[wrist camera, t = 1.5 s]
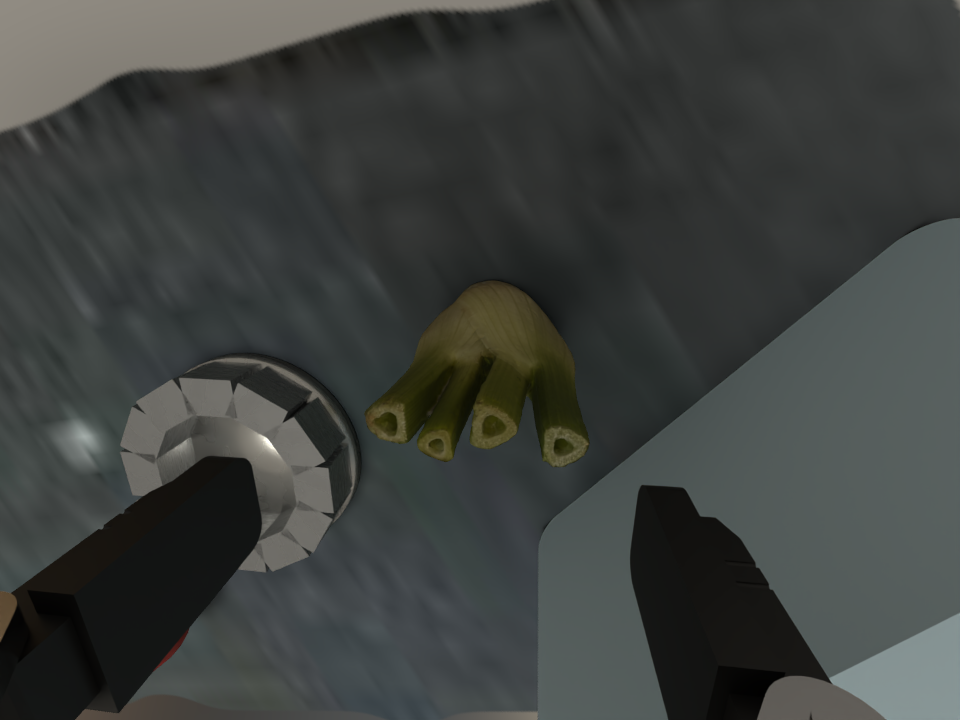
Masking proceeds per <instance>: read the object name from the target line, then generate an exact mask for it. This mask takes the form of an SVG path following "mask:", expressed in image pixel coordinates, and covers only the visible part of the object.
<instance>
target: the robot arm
mask: <svg viewBox="0 0 960 720" xmlns="http://www.w3.org/2000/svg"><path fill="white" fill-rule="evenodd" d="M261 529H262V516H261V511H260V506H259V501H258V495H257V490H256V485H255V479H254V474H253V469H252V466H251V463H250V462H249V461H248V460H247V459H245V458H239V457H223V456H206V457H204V458H202V459H201V460H200V461H198V462H197V463H196V464H194V465H193V466H192V467H190V468H189V469H188V470H186V471H185V472H184V473H182V474H181V475H180V476H178V477H177V478H176V479H174V480H173V481H171V482H169V483H167V484H165V485H163V486H161V487H159V488H157V489H155V490H152V491H150V492H149V493H147V494H146V495H144V496H143V497H142V498H140V499H139V500H138V501H136V502H135V503H134V504H132V505H131V506H129V507H128V508H127V509H125V512H124V514H119V515H117V516H116V517H114V518H113V519H112V520H110V521H109V522H108V523H106V524H105V525H104V528H103V529H102V530H100V529H98V530H97V531H95V532H94V533H93V534H91V535H90V536H88V537H87V538H86V539H84V540H83V541H82V542H80V543H79V544H78V545H76V546H75V547H73V548H72V549H71V550H69V551H68V552H67V553H65V554H64V555H63V556H61V557H60V558H58V559H57V560H56V561H54V562H53V563H52V564H50V565H49V566H48V567H46V568H45V569H43V570H42V571H41V572H39V573H38V574H37V575H35V576H34V577H33V578H31V579H30V580H28V581H27V582H26V583H24V584H23V585H22V586H20V587H19V588H18V589H16V590H15V591H13V592H12V593H8V592H4V591H0V720H75V719H76V718H77V717H78V716H79V715H80V714H81V712H82V711H83V710H84V709H90V710H98V711H105V712H113V713H119V712H120V711H121V710H122V709H123V707H124V706H125V705H126V704H127V703H128V701H129V700H130V699H131V698H132V696H133V695H134V694H135V693H136V692H137V690H138V689H139V688H140V687H141V686H142V684H143V683H144V682H145V681H146V680H147V678H148V677H149V676H150V675H151V673H152V672H153V671H154V670H155V669H156V667H157V666H158V665H159V664H160V663H161V661H162V660H163V659H164V658H165V656H166V655H167V654H168V653H169V652H170V650H171V649H172V648H173V647H174V646H175V644H176V643H177V642H178V641H179V640H180V638H181V637H182V636H183V635H184V633H185V632H186V631H187V630H188V629H189V627H190V626H191V625H192V624H193V623H194V621H195V620H196V619H197V618H198V616H199V615H200V614H201V613H202V612H203V610H204V609H205V608H206V607H207V606H208V604H209V603H210V602H211V601H212V599H213V598H214V597H215V596H216V595H217V593H218V592H219V591H220V590H221V589H222V587H223V586H224V585H225V584H226V583H227V581H228V580H229V579H230V578H231V576H232V575H233V574H234V573H235V572H236V570H237V569H238V568H239V567H240V566H241V564H242V563H243V562H244V561H245V559H246V558H247V557H248V556H249V555H250V553H251V552H252V551H253V549H254V548H255V546H256V544H257V542H258V540H259V537H260V534H261ZM630 571H631V579H632V585H633V589H634V593H635V596H636V600H637V604H638V608H639V611H640V615H641V619H642V623H643V626H644V630H645V634H646V638H647V642H648V645H649V649H650V653H651V657H652V660H653V664H654V668H655V672H656V675H657V679H658V683H659V687H660V691H661V694H662V698H663V702H664V706H665V709H666V713H667V717H668V720H886V719H885V718H884V717H883V716H882V715H880V714H879V713H878V712H877V711H876V710H875V709H873V708H872V707H870V706H869V705H868V704H866V703H865V702H864V701H862V700H861V699H859V698H857V697H856V696H854V695H853V694H851V693H849V692H847V691H846V690H844V689H842V688H840V687H838V686H836V685H833V684H832V682H831V681H830V679H829V678H828V676H827V675H826V673H825V672H824V670H823V668H822V667H821V665H820V664H819V662H818V660H817V659H816V657H815V656H814V654H813V653H812V651H811V649H810V648H809V646H808V645H807V643H806V642H805V640H804V638H803V637H802V635H801V634H800V632H799V630H798V629H797V627H796V626H795V624H794V623H793V621H792V619H791V618H790V616H789V615H788V613H787V611H786V610H785V608H784V607H783V605H782V604H781V602H780V600H779V599H778V597H777V596H776V594H775V592H774V591H773V590H770V588H769V583H768V581H767V580H766V578H765V577H764V575H763V573H762V572H761V570H760V569H759V568H756V562H755V561H754V559H753V558H752V556H751V554H750V553H749V551H748V550H747V548H746V547H745V545H744V543H743V542H742V540H741V539H740V538H739V537H738V536H737V535H736V534H735V533H733V532H732V531H731V530H730V529H729V528H727V527H726V526H725V525H724V524H723V523H722V522H720V521H719V520H718V519H717V518H716V517H702V516H700V515H699V513H698V511H697V509H696V508H695V506H694V504H693V502H692V500H691V498H690V497H689V495H688V493H687V491H686V490H685V489H684V488H682V487H669V486H654V485H641V486H640V488H639V491H638V497H637V504H636V511H635V519H634V526H633V534H632V541H631V549H630Z"/></svg>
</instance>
